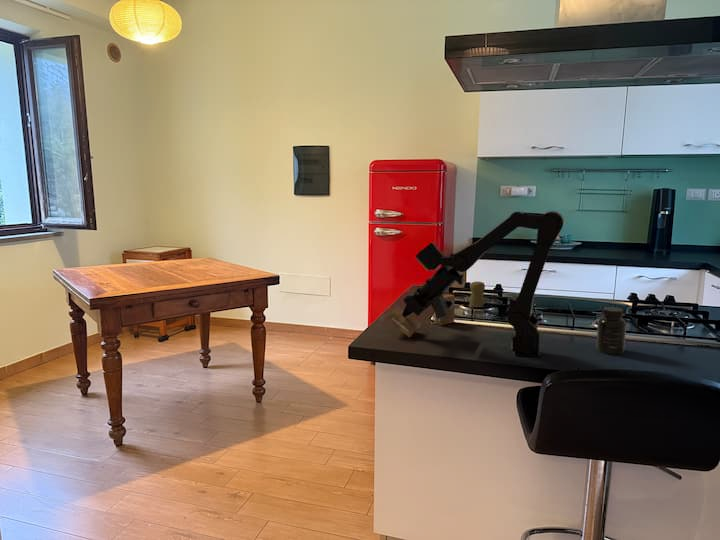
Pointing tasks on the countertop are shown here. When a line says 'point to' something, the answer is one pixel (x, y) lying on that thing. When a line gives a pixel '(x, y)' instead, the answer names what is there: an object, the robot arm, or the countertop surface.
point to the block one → (403, 322)
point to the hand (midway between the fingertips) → (403, 315)
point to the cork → (477, 294)
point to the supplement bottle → (611, 331)
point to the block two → (450, 316)
